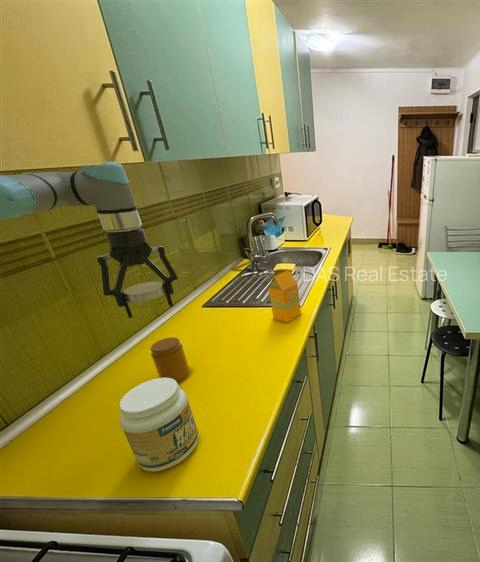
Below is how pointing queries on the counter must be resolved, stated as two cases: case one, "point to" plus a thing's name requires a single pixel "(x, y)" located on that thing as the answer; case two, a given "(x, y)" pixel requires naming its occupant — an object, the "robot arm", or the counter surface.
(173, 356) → the jar
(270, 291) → the orange juice
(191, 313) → the counter surface
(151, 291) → the lid
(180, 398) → the supplement tub
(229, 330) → the counter surface
